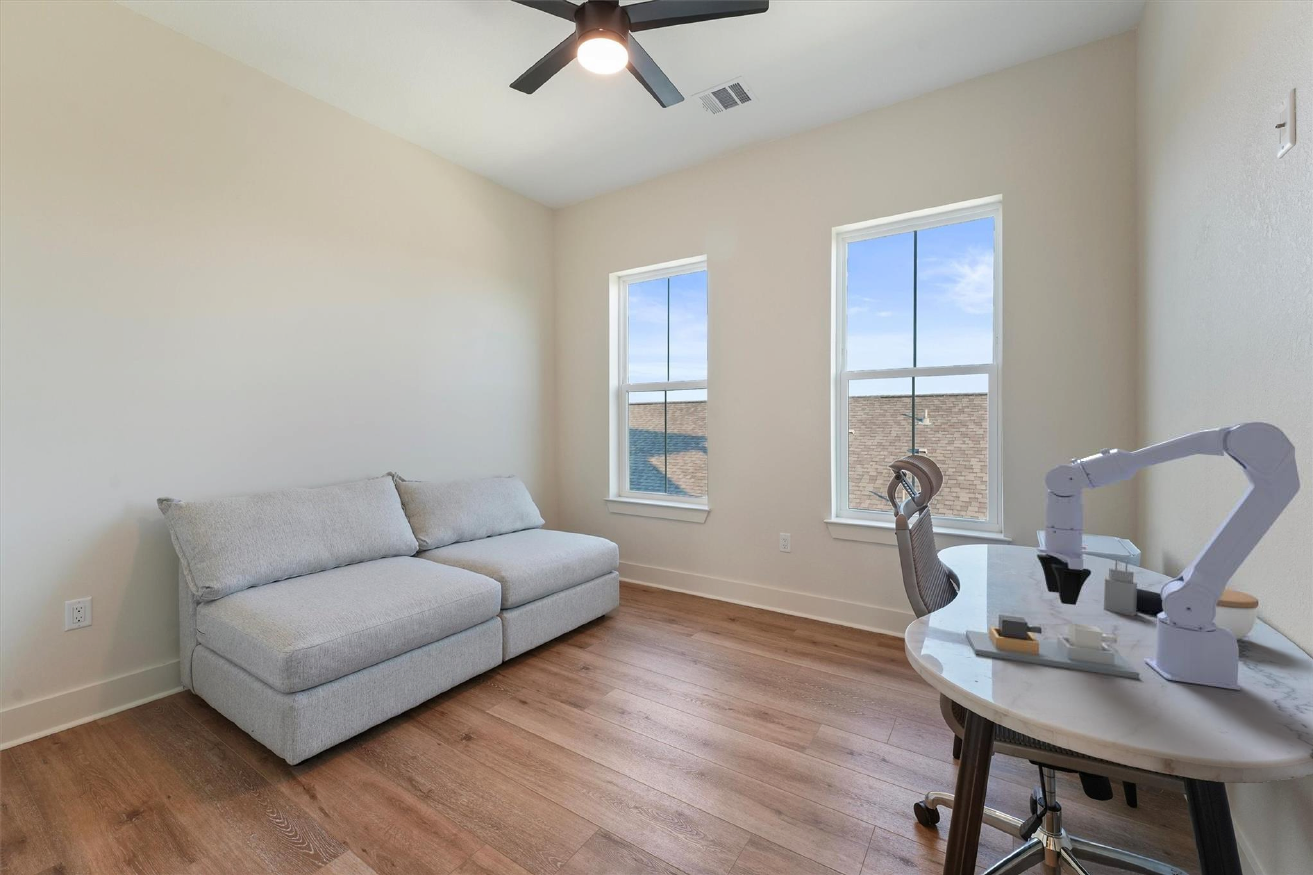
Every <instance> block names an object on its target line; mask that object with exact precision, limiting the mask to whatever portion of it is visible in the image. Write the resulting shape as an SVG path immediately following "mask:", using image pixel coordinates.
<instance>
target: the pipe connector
mask: <svg viewBox="0 0 1313 875" xmlns="http://www.w3.org/2000/svg"><path fill="white" fill-rule="evenodd" d="M1162 602H1163V601H1162V599H1161V594H1160V592H1156V591H1151V590H1150V591H1149V590H1146V589H1145V590H1144V589H1143V588H1142V589H1141V588H1137V604H1136V611H1139V612H1144V613H1147V614H1151V613H1153V615H1156V616H1157V614H1159V613H1161V612H1163V611H1164V610H1163V607H1162Z"/></svg>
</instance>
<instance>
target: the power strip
mask: <svg viewBox="0 0 1313 875" xmlns="http://www.w3.org/2000/svg"><path fill="white" fill-rule="evenodd" d="M965 636H966V638H967V640H968V641H969V644H970V647H971V649H972V648H973V649H972V651H973V650H974V651H973V652H974V654H979V655H978V656H982V655H983V656H984V657H989V656H990V658H996V659H1004V660H1010V661H1016V662H1017V661H1018V662H1023V663H1032V664H1036V665H1045V666H1051V667H1057V668H1058V667H1059V668H1064V669H1072V670H1077V671H1083V672H1092V673H1096V674H1097V673H1098V674H1106V675H1110V676H1118V677H1125V678H1133V679H1137V680H1139V679H1140V672H1139V671H1138V670H1137V669H1135V667H1133V666H1132V665H1131V664H1130V663H1129V662H1128V661H1127V660H1126V659H1125V658H1123V657H1122V656H1121V655H1120V654H1119V653H1118V652H1117V651H1115V650H1114V649H1110V648H1109V647H1108V646H1107V645H1106V644H1105V643H1111V644H1117V639H1118V638H1117V636H1116V635H1108V634H1103V631H1101V630H1100V629H1099V628H1098V627H1097V626H1094V625H1087V624H1078V623H1071V622H1070V623H1068V636H1063V635H1056V641H1050V640H1044V639H1037V638H1035V636H1034V634H1033V633H1032V632H1027V640H1020V639H1013V638H1006V637H999V635H998V627H995V626H989V632H983V631H982V632H981V631H975V630H968V629H967V630H966V631H965Z"/></svg>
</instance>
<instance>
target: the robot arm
mask: <svg viewBox="0 0 1313 875" xmlns="http://www.w3.org/2000/svg"><path fill="white" fill-rule="evenodd" d="M1225 454H1227V455H1228V456H1229V457H1230V458H1231V459H1232V460H1233V461H1235V462H1236V463H1237V464H1238V465H1240V467H1241V468H1240V469H1241V470H1242V472H1243V473H1244V475H1245V477H1246V479H1247V480H1248V482H1249V486H1248V487H1247V489H1246V490H1245V491H1244V493H1243V494H1242V495H1241V497H1240V498H1239V500H1238V501H1237V502H1236V504H1235V505H1234V506H1233V508H1232V509H1231V511H1230V512H1229V513H1228V514H1227V515H1226V516H1225V518H1224V519H1223V521H1222V522H1221V523H1220V525H1219V526H1218V527H1217V529H1216V530H1215V532H1214V533H1213V534H1212V536H1211V537H1210V538H1209V539H1208V541H1206V543H1205V545H1204V546H1203V548H1202V549H1201V551H1199V553H1198V554H1197V556H1196V557H1195V558H1194V560H1193V561H1192V562H1191V563H1190V564H1189V565H1188V566H1186V567H1185V569H1184V570H1182V572H1181V573H1180V574H1179V575H1178V576H1177V577H1175V578H1174V579H1171V580H1169V581H1167V582H1165V583H1164V584H1163V585H1162V587H1161V589H1160V592H1159V593H1160V594H1161V599H1162V601H1163V602H1162V607H1163V610H1164V611H1163V612H1161V613H1159V614H1157V615H1156V618H1157V619H1156V636H1155V641H1156V642H1155V659H1152V658H1144V659H1143V660H1144V662H1145V663H1147V664H1148V665H1149V666H1150V667H1151V668H1152V669H1154V670H1155V672H1157V673H1158V674H1160V675H1161V676H1162V677H1163V678H1164V679H1166V680H1169V681H1176V682H1183V683H1189V684H1194V685H1203V686H1209V687H1216V688H1217V687H1218V688H1224V689H1229V690H1236V691H1237V690H1238V691H1239V690H1241V686H1240V685H1238V683H1239V682H1238V680H1239V679H1238V678H1239V657H1240V656H1239V655H1240V654H1239V653H1240V652H1239V650H1240V649H1239V645H1238V640H1236V638H1235V636H1234V635H1233V633H1232V632H1231V631H1230V630H1228V629H1226V628H1222V627H1216V624H1215V623H1214V622H1212V621H1213V620H1214V619H1215V616H1216V604H1217V602H1218V600H1219V599H1220V598H1221V596H1222V594H1223V592H1224V589H1225V588H1227V587H1226V586H1227V584H1228V582H1229V581H1230V580H1231V578H1233V576H1234V574H1235V573H1236V572H1237V570H1238V569H1239V568H1240V567H1241V565H1242V564H1244V562H1245V560H1247V558H1248V556H1249V555H1250V554H1251V553H1252V551H1253V550H1254V549H1255V548H1256V546H1258V544H1259V543H1260V541H1261V540H1262V539H1263V537H1264V536H1265V535H1266V533H1267V532H1268V531H1269V529H1271V527H1272V526H1273V524H1274V523H1275V522H1276V521H1277V519H1278V518H1279V516H1281V514H1282V513H1283V511H1285V509H1286V508H1287V507H1288V505H1289V504H1290V503H1291V502H1292V500H1293V499H1294V498H1295V497H1296V495H1297V494H1298V492H1299V491H1300V488H1301V483H1300V476H1299V471H1298V467H1297V466H1298V465H1297V461H1296V446H1295V445H1294V444H1293V443H1292V441H1291V440H1290V439H1289V438H1288V436H1287V434H1285V433H1284V432H1283V430H1282V429H1281V428H1279V427H1278V426H1276V425H1274V424H1271V423H1268V422H1262V421H1251V422H1241V423H1236V424H1234V425H1231V426H1223V427H1216V428H1211V429H1206V430H1198V431H1194V432H1192V433H1189V434H1184V435H1182V436H1179V437H1176V438H1172V439H1168V440H1166V441H1163V442H1160V443H1156V444H1154V445H1153V444H1152V445H1150V446H1147V447H1143V448H1141V449H1138V450H1135V451H1132V452H1129V451H1126V450H1123V449H1120V448H1115V449H1111V450H1110V449H1109V448H1108V447H1106V448H1103V449H1101V450H1099V453H1097V454H1094V455H1090V456H1088V457H1087V456H1086V457H1085V458H1081V459H1077V458H1072V459H1070V460H1069V463H1070V464H1059V465H1057V466H1055V467H1053V468H1051V469H1050V470H1049V471H1048V472H1047V473H1046V474H1045V486H1046V488H1047V489H1048V490H1047V492H1046V498H1047V499H1046V500H1047V501H1046V502H1045V515H1044V517H1045V518H1044V521H1045V522H1044V523H1045V524H1044V527H1045V528H1044V546H1043V547H1042V546H1041V547H1039V546H1038V547H1036V551H1037V552H1038V553H1039V554H1036V558H1037V559H1038V561H1039V563H1040V565H1041V568H1042V571H1043V574H1044V580H1045V584H1046V588H1047V591H1048V592H1049V593H1056V594H1058V596H1059V600H1060V603H1061V604H1064V605H1072V606H1076V604H1077V602H1078V600H1079V596H1080V593H1081V590H1082V588H1083V586H1084V584H1085V582H1086V581H1087V579H1088V578H1089V577H1090V576H1091V574H1092V570H1090V569H1089V568H1084V557H1083V556H1084V552H1083V532H1084V531H1083V528H1084V527H1083V526H1084V525H1083V522H1084V504H1083V503H1082V502H1083V492H1082V490H1083V489H1085V488H1086V489H1090V490H1094V489H1097V488H1101V487H1104V486H1108V485H1112V484H1116V483H1120V482H1123V481H1127V480H1130V479H1131V480H1132V479H1133V478H1134V477H1135V475H1136V474H1137V472H1138V470H1139V469H1142V468H1146V467H1149V466H1150V467H1151V466H1154V465H1159V464H1163V463H1167V462H1170V461H1174V460H1178V459H1183V458H1185V457H1190V456H1194V455H1206V456H1217V457H1219V456H1221V457H1224V456H1225ZM1040 553H1041V554H1040Z"/></svg>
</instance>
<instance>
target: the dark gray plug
mask: <svg viewBox="0 0 1313 875" xmlns="http://www.w3.org/2000/svg"><path fill="white" fill-rule="evenodd" d="M1028 623H1029V622H1028V621H1027V620H1026V619H1025V617H1021V616H1015V615H1014V616H1013V615H1006V614H998V627H997V628H998V635H999V637H1006V638H1013V639H1020V640H1027V632H1031V634H1033V633H1034V634H1042V627H1041V626H1037V625H1029V624H1028Z"/></svg>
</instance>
